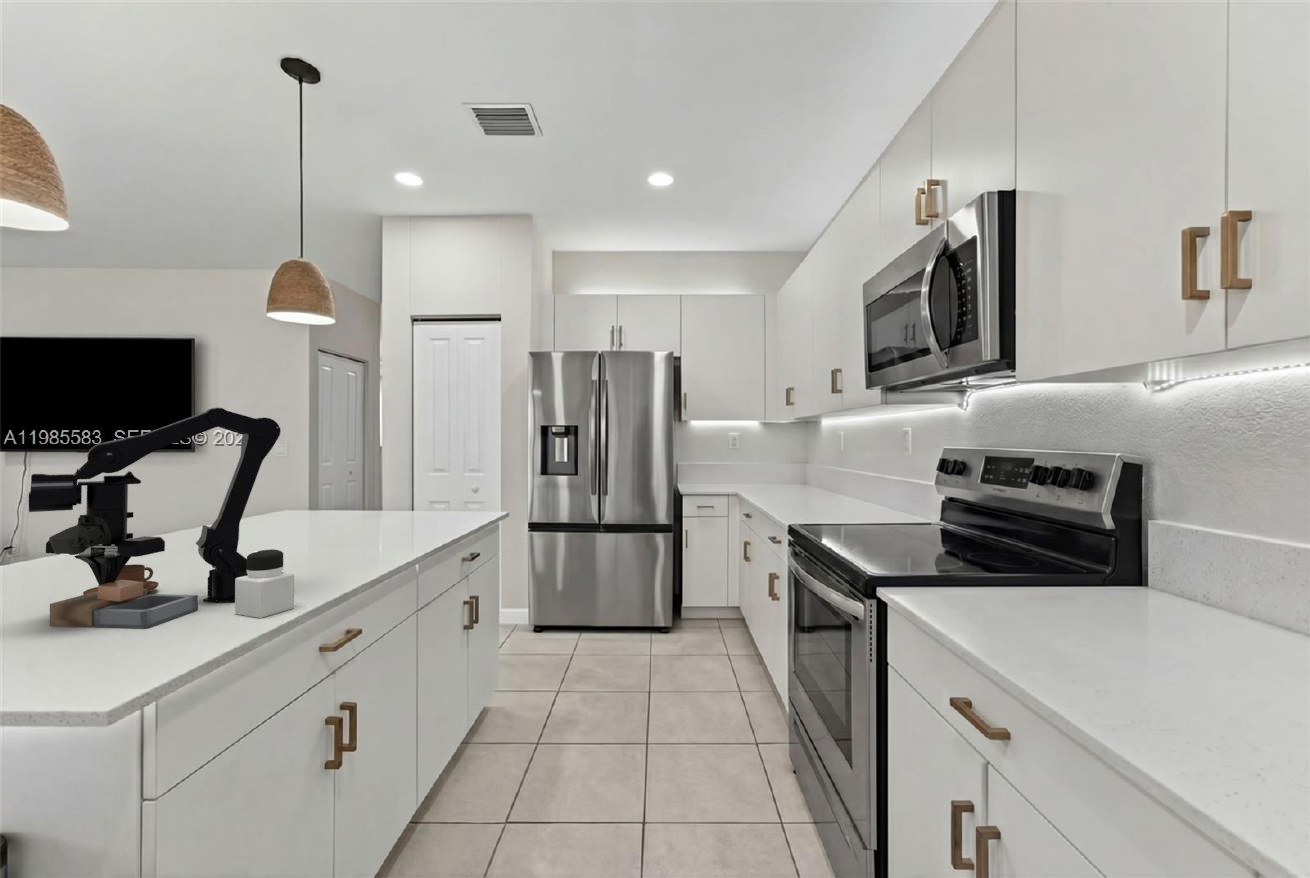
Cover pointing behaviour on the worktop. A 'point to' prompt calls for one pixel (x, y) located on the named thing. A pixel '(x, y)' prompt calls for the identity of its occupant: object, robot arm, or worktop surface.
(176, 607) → the box
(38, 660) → the worktop surface
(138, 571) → the cup and saucer
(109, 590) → the tile
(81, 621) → the tan wooden board
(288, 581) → the medicine bottle
